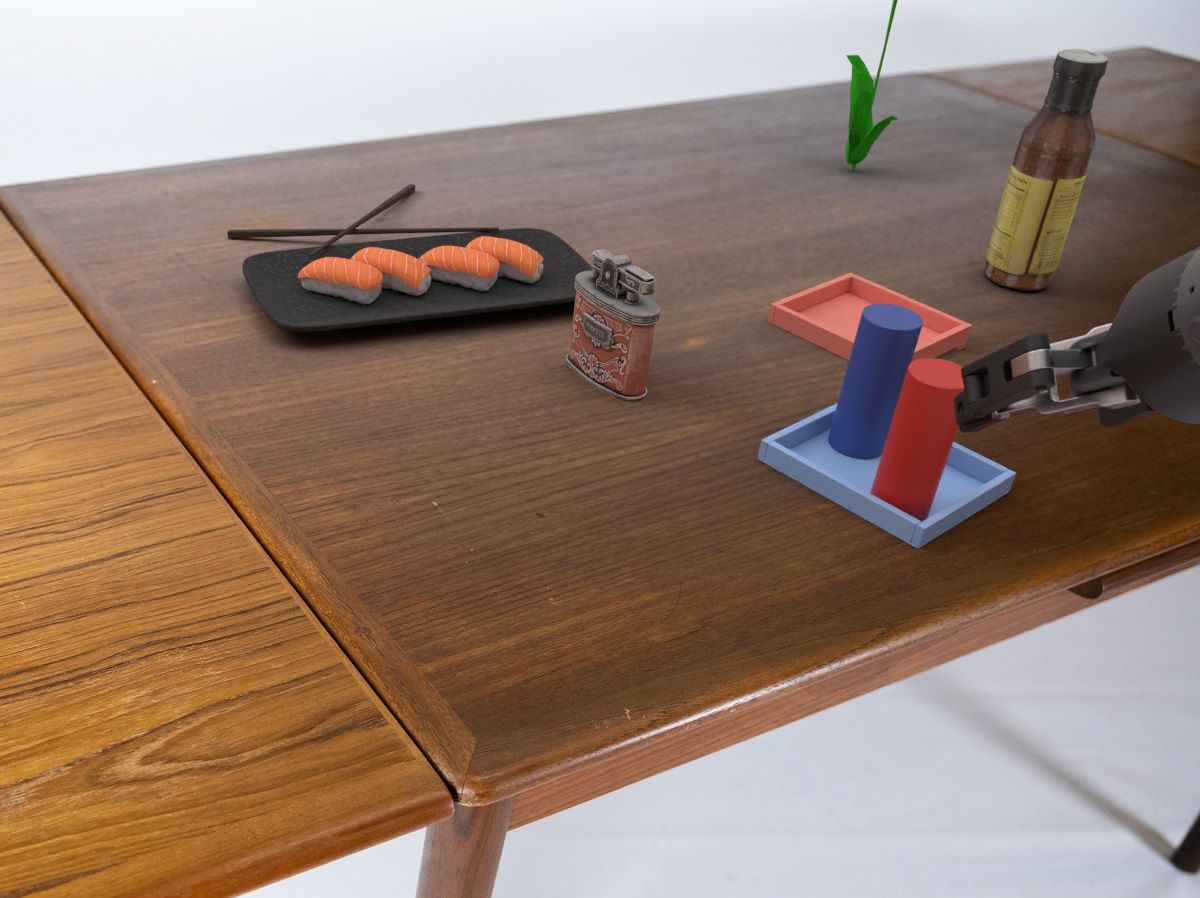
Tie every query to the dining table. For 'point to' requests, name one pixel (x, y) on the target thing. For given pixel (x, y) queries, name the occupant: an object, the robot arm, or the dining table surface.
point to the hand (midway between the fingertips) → (1033, 411)
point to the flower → (864, 107)
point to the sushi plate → (408, 274)
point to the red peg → (919, 437)
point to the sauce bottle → (1046, 177)
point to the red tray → (838, 309)
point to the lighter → (613, 326)
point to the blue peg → (874, 379)
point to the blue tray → (851, 479)
